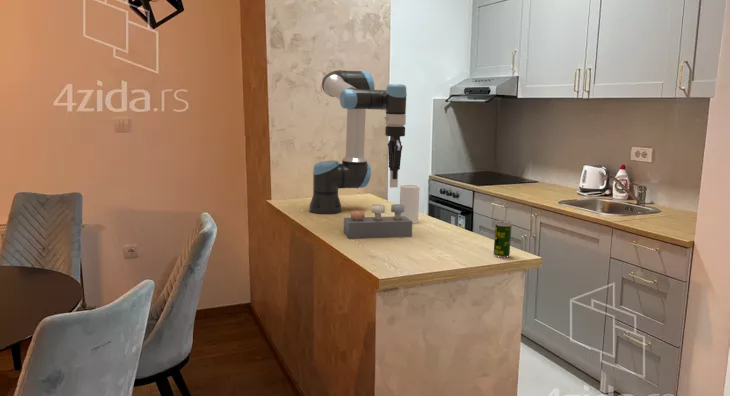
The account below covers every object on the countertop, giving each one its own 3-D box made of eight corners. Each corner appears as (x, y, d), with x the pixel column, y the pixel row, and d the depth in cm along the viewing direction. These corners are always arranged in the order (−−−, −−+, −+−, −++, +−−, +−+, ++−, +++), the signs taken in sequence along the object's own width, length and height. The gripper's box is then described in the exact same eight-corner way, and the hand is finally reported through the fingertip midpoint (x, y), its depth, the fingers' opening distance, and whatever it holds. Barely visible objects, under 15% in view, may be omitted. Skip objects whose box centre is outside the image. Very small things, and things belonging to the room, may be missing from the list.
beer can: (497, 253, 195) (500, 219, 193) (512, 256, 192) (514, 221, 190) (490, 256, 191) (492, 221, 189) (505, 259, 188) (507, 224, 186)
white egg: (369, 223, 219) (370, 204, 218) (382, 222, 221) (382, 204, 219) (372, 226, 214) (373, 207, 213) (385, 225, 216) (386, 207, 214)
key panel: (343, 232, 220) (343, 217, 219) (404, 230, 226) (404, 216, 225) (348, 238, 210) (348, 223, 209) (411, 236, 216) (412, 221, 215)
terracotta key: (349, 229, 218) (349, 210, 217) (362, 228, 219) (362, 210, 218) (352, 232, 213) (352, 213, 212) (365, 231, 214) (365, 212, 213)
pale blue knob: (389, 222, 221) (389, 204, 220) (401, 222, 222) (402, 204, 221) (392, 225, 216) (393, 206, 215) (405, 225, 217) (406, 206, 216)
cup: (417, 224, 238) (418, 187, 235) (397, 223, 240) (399, 186, 237) (419, 220, 246) (420, 184, 243) (400, 219, 248) (401, 183, 245)
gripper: (381, 124, 218) (380, 184, 222) (390, 126, 205) (388, 189, 209) (400, 125, 219) (398, 184, 223) (409, 126, 207) (407, 189, 210)
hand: (393, 187), depth 216 cm, fingers closed
